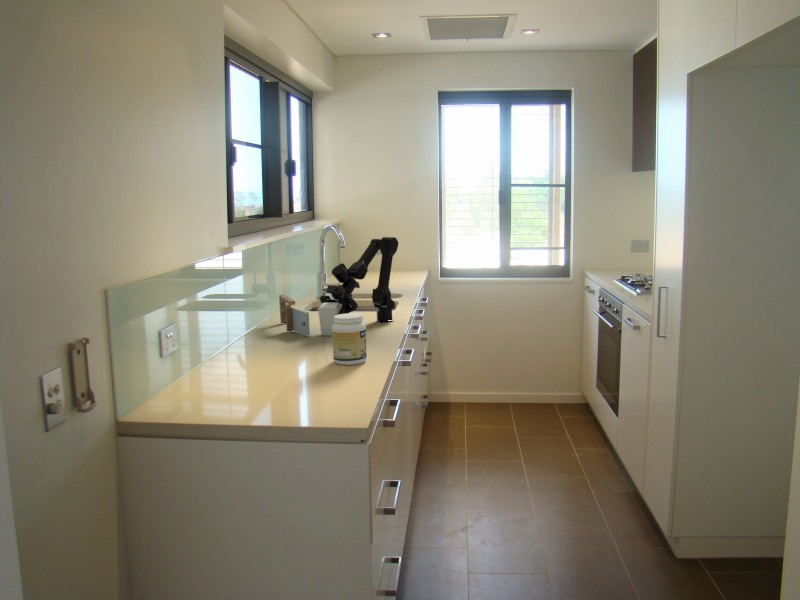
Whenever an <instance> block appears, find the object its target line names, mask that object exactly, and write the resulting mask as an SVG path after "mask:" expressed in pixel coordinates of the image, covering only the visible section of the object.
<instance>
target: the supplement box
mask: <svg viewBox="0 0 800 600" xmlns="http://www.w3.org/2000/svg"><path fill="white" fill-rule="evenodd" d="M340 309H341V308H340V305H339V302H332V303H323V304H322V303H321V304H320V306H319V307H318V308H317V311H318V318H319V325H320V326H319V327H320V333H321V336H326V337H327V336H331V337H332V326H333V324H334V323H335V322H334V316H335V315H338V313H339V311H340Z"/></svg>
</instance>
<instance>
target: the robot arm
mask: <svg viewBox="0 0 800 600" xmlns="http://www.w3.org/2000/svg"><path fill="white" fill-rule="evenodd" d="M370 240H371V241H370V243H369V245H368V246H367V247H366V249H365V251H364V252H363V253H362V254H361V256H360V258H359V259H358V260H357V261H355V262H353V263H352V264H351V265H350V266H349V267H348V268H347V266H346V265H345V263H341V262H340V263H339V264H338V265H336V266H335V267H333V268H332V270H331V275H333V277H334V278H335V279H336V280H337V282H338V283H340V284H338V285H332V284H331V285H330V284H329V285H327V287H326V291H325V292H326V293H327V294H330V295H331V296H330V295H323V294H322V295H320V297H319V301H320V303H321V305H322V304H323V303H332V302H339V306H341V308H340V311H339V313H338V315H339V314H348V313H353V312H354V311H357V309H358V307H359V303H357V302H356V300H355V299H354V298H353V295H352V294H353V292H354V290H355V289H360V287H361V286H360V283H359V281H357V280H364V279H365V277H366V275H367V273H368V271H369V269H368V267H369V265H370V264H371V263H372V261H373V260H374V258H375V256H376V255H377V253H378V252H379V251H380V253H381V259H380V260H381V261H380V268H379V275H378V281H377V282H378V283H377V287H376V288H373V289H372V295H371V298H372V299H371V300H372V304H373V305H374V308H375V309H377V311H376V321H378V322H379V321H388V320H393V309H395V307H396V303H395V302H394V300H393V298H392V292H391V290H390V288H389V286H390V280H391V272H392V263H393V257H394V255H396V253H397V250H398V247H399V241H398V238H397V237H394V236H393V237H392V236H383V237H382V238H372V239H370Z"/></svg>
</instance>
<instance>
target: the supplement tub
mask: <svg viewBox="0 0 800 600" xmlns="http://www.w3.org/2000/svg"><path fill="white" fill-rule="evenodd" d="M363 317H364V315H363V314H361V313H355V312H354V313H353V312H350V313H348V314H339V315H335V316H334V322H335V323H334V324H333V326H332V336H331V337H332V355H333V356H332V359H333V362H334V363H335V364H337V365H341V366H354V365H359V364H363V363H365V362H366V361H367V359H368V358H367V356H368V354H367V335H366V334H367V330H366V324H365V322H364V318H363Z"/></svg>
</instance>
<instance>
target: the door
mask: <svg viewBox="0 0 800 600" xmlns="http://www.w3.org/2000/svg"><path fill="white" fill-rule="evenodd" d="M291 313H292V331H294V332H297V333H299V334H302V335H305V336H306V337H309V336H311V332H310V315H309V314H310V313H309V312H308V311H305V310H303V309H299V308H296V307H291Z"/></svg>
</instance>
